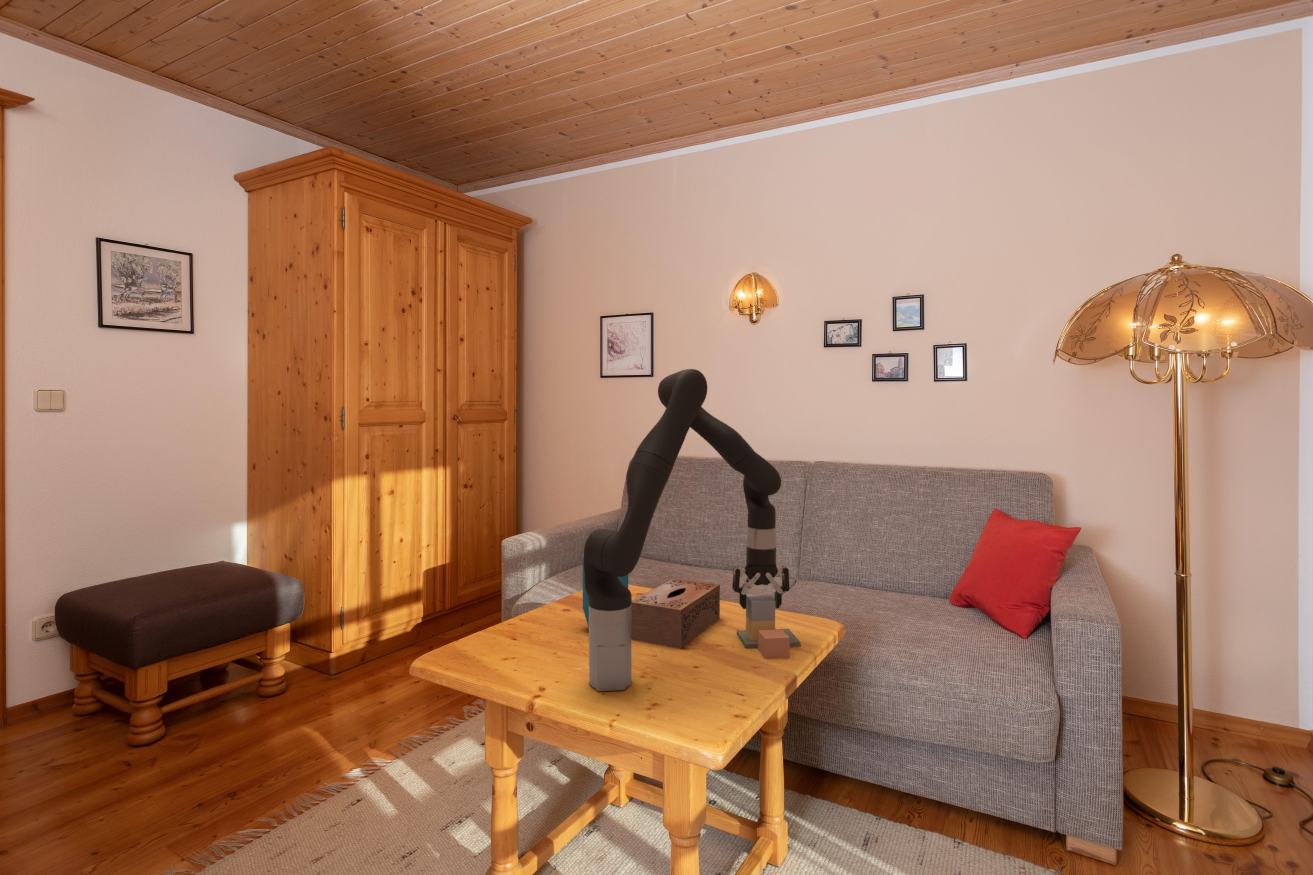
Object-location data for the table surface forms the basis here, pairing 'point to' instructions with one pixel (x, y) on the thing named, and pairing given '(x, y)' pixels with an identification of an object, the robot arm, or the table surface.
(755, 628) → the ochre block
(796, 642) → the felt mat
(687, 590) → the tissue box cover
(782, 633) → the terracotta block
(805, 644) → the table surface
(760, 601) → the slate block
